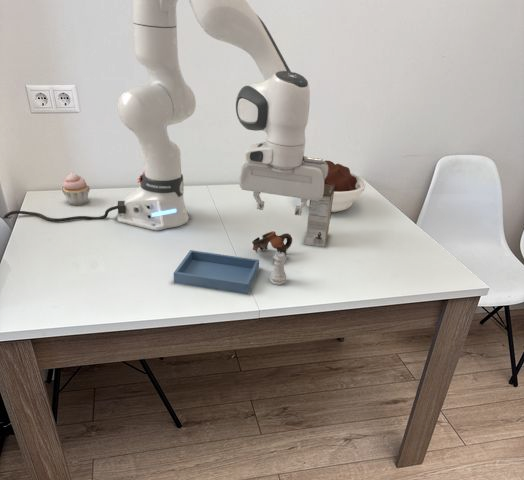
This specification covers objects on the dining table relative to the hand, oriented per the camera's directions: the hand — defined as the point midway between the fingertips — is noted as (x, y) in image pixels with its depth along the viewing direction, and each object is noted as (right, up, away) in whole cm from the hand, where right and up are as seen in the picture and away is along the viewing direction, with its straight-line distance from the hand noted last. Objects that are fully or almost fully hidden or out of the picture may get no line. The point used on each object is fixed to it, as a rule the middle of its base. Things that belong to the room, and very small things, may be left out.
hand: (279, 211), depth 120 cm
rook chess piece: (0, -16, +10) cm, 19 cm away
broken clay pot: (-1, -7, +21) cm, 22 cm away
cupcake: (-67, +16, +45) cm, 82 cm away
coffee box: (+13, 0, +32) cm, 34 cm away
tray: (-16, -14, +10) cm, 24 cm away
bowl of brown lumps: (+19, +17, +54) cm, 60 cm away
